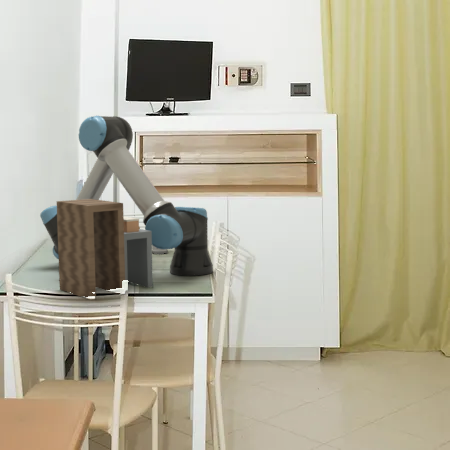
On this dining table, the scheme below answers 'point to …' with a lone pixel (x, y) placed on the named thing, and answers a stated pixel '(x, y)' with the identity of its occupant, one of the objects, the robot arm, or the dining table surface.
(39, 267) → the dining table surface
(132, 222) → the slim box
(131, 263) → the grey bench
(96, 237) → the walnut stand
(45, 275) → the dining table surface
